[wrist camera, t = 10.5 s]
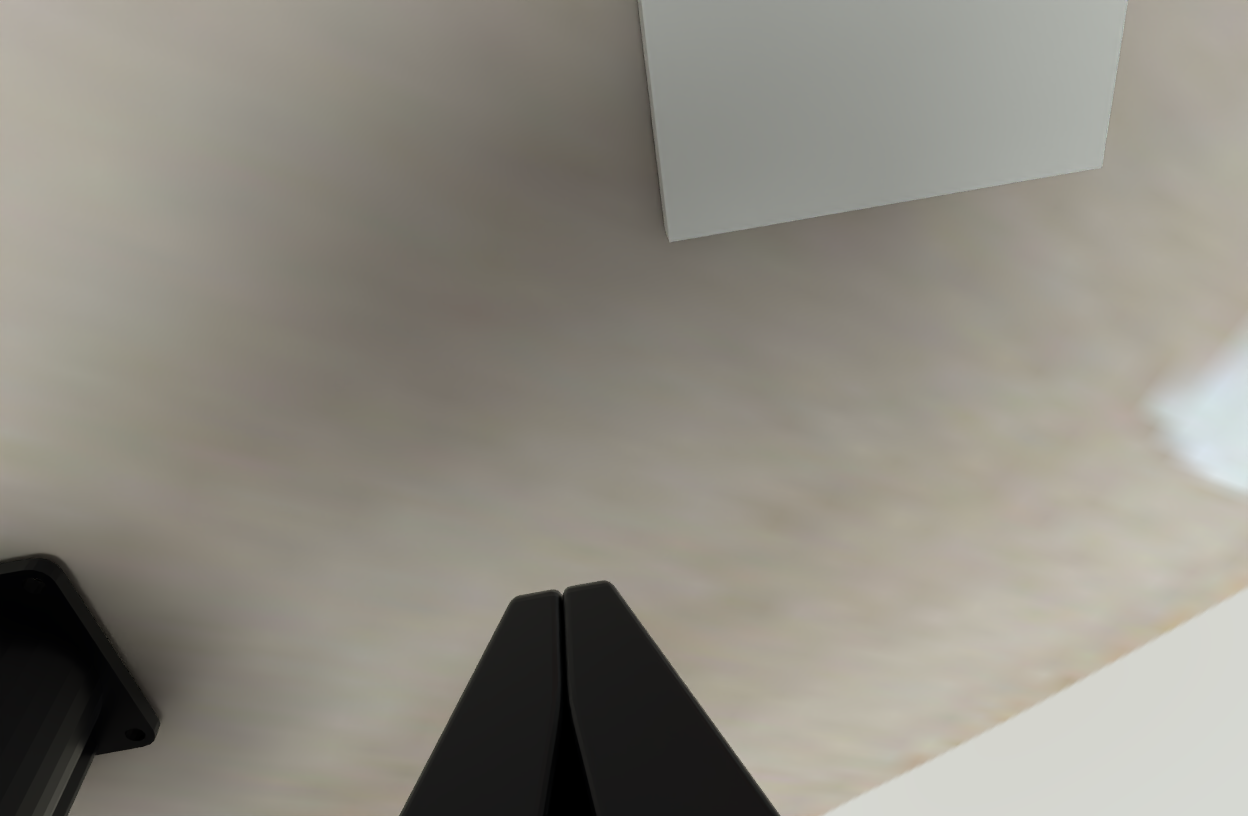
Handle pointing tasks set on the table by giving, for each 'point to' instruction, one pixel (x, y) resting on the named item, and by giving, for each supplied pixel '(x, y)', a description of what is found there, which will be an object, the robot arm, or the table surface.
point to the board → (868, 101)
